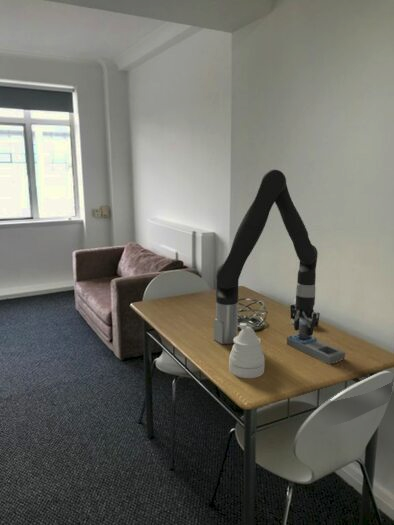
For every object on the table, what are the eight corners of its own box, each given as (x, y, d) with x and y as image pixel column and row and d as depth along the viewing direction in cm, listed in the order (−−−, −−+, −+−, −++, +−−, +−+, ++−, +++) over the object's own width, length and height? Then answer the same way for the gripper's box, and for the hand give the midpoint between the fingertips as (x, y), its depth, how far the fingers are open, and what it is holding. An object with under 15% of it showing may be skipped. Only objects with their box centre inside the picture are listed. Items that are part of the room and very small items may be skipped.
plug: (302, 348, 173) (304, 321, 171) (295, 345, 177) (297, 318, 174) (309, 346, 175) (311, 319, 173) (302, 343, 179) (304, 316, 176)
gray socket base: (344, 359, 164) (345, 347, 163) (329, 364, 159) (330, 352, 158) (301, 339, 182) (302, 328, 181) (286, 344, 178) (287, 332, 177)
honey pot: (239, 380, 147) (240, 332, 143) (223, 365, 159) (223, 320, 155) (271, 373, 152) (273, 326, 148) (252, 359, 164) (254, 315, 160)
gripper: (286, 291, 175) (284, 329, 179) (312, 300, 163) (310, 340, 167) (299, 288, 179) (297, 325, 183) (325, 297, 167) (323, 336, 171)
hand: (303, 332), depth 175 cm, fingers open, 6 cm apart
